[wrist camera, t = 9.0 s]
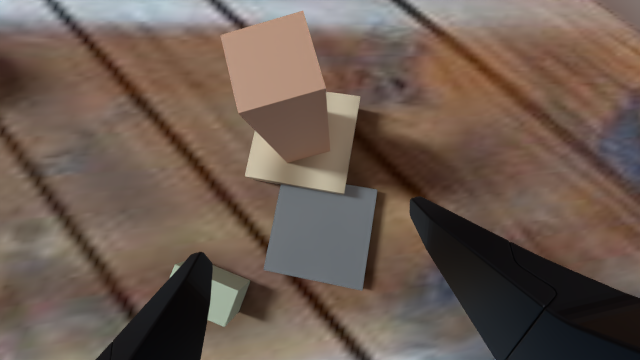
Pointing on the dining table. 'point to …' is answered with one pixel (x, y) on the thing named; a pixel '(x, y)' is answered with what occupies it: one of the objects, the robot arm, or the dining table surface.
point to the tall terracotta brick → (280, 85)
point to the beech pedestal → (317, 169)
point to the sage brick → (224, 294)
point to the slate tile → (322, 234)
